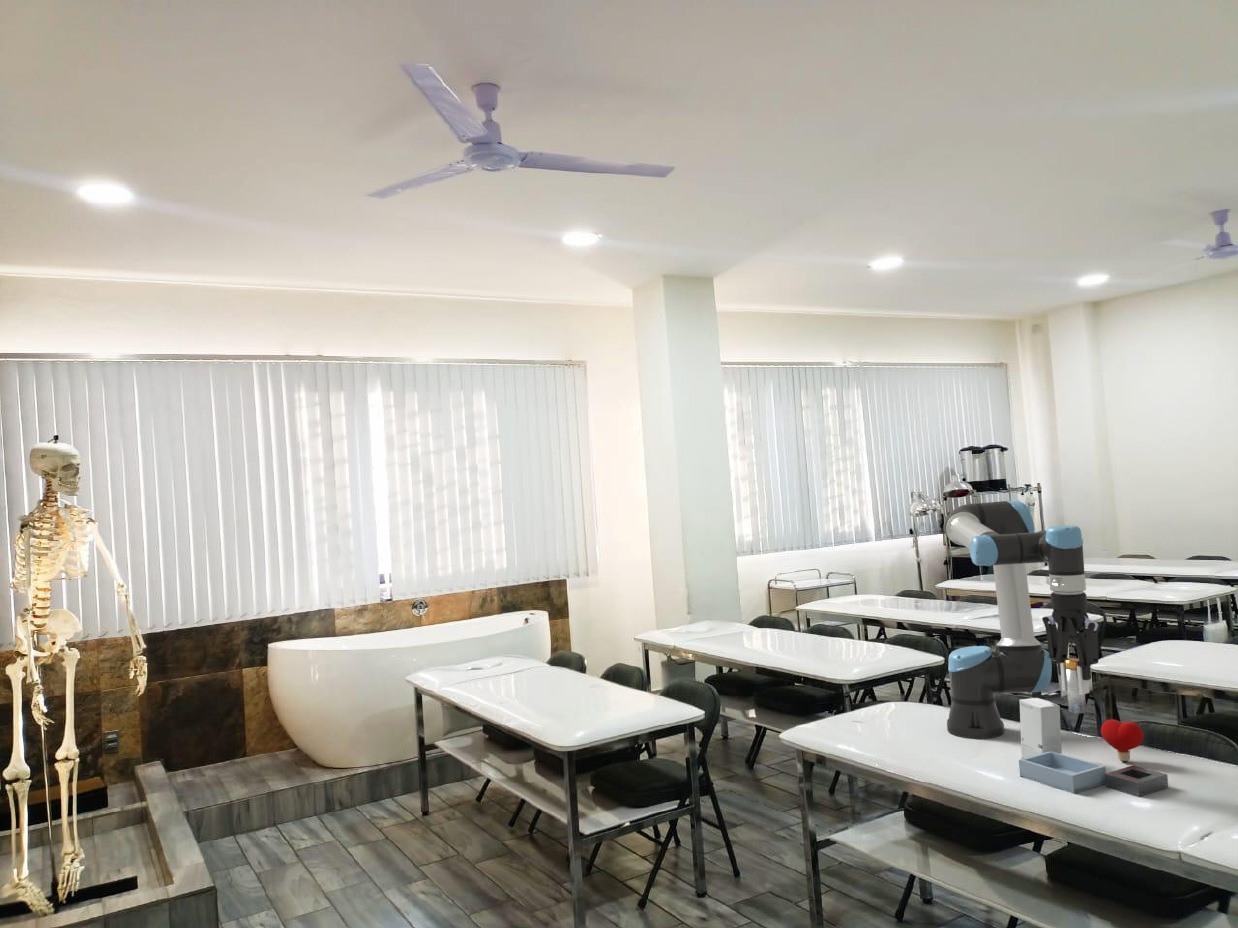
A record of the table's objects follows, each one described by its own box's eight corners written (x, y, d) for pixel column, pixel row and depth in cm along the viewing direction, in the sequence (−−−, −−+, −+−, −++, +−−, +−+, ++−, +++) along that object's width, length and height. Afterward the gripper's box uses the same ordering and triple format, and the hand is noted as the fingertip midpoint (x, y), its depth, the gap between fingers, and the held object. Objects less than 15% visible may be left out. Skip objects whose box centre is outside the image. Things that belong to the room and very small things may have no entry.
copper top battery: (1065, 710, 206) (1061, 659, 206) (1075, 708, 207) (1071, 657, 208) (1079, 714, 203) (1075, 662, 203) (1089, 711, 204) (1085, 659, 204)
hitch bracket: (1105, 786, 200) (1104, 773, 200) (1134, 777, 204) (1133, 765, 204) (1139, 796, 193) (1138, 783, 193) (1168, 787, 197) (1167, 774, 197)
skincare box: (1021, 757, 224) (1016, 699, 224) (1041, 754, 225) (1036, 696, 226) (1044, 767, 216) (1039, 706, 216) (1065, 763, 217) (1060, 703, 218)
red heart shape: (1099, 762, 216) (1095, 721, 217) (1108, 754, 221) (1104, 715, 222) (1141, 769, 210) (1137, 727, 210) (1149, 761, 215) (1146, 720, 215)
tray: (1020, 776, 211) (1018, 759, 211) (1052, 767, 215) (1050, 750, 215) (1073, 793, 197) (1072, 775, 197) (1107, 783, 202) (1105, 766, 202)
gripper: (1026, 590, 211) (1034, 687, 211) (1090, 597, 196) (1098, 701, 196) (1047, 586, 215) (1054, 682, 214) (1112, 592, 200) (1120, 695, 199)
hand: (1075, 691), depth 205 cm, fingers closed on copper top battery, 4 cm apart
